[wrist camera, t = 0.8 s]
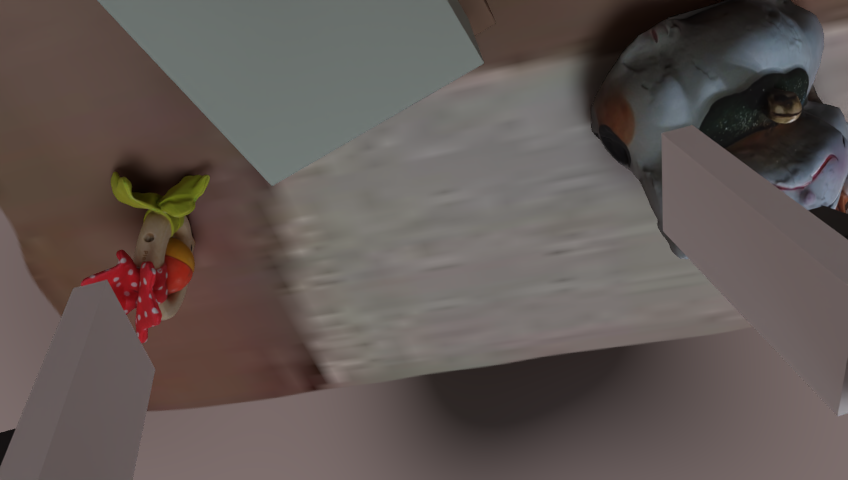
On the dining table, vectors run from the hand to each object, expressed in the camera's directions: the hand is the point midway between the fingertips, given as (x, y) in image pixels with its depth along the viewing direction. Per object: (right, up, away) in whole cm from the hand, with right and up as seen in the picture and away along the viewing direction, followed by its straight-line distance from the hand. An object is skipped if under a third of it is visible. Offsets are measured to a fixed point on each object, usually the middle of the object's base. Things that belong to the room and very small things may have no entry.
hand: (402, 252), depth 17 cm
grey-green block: (-5, +13, +18) cm, 22 cm away
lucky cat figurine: (+18, +10, +29) cm, 35 cm away
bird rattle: (-16, +2, +31) cm, 35 cm away
